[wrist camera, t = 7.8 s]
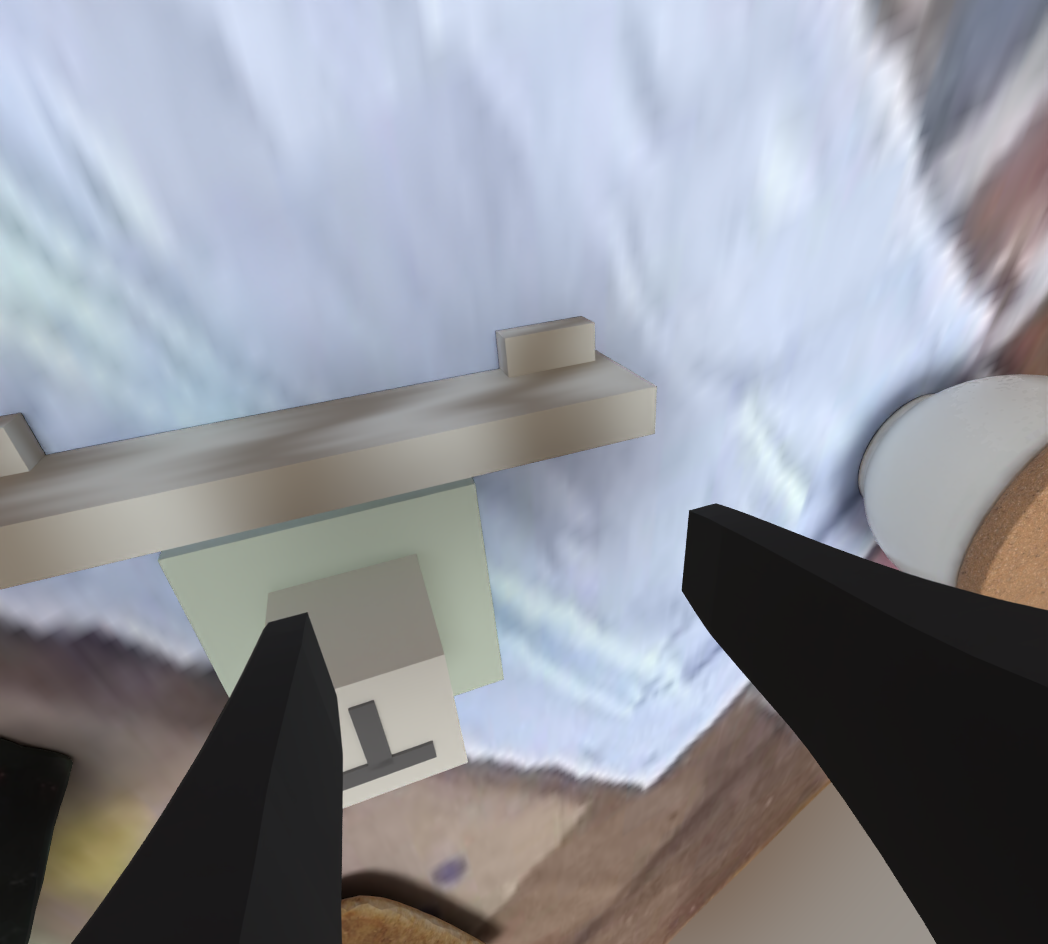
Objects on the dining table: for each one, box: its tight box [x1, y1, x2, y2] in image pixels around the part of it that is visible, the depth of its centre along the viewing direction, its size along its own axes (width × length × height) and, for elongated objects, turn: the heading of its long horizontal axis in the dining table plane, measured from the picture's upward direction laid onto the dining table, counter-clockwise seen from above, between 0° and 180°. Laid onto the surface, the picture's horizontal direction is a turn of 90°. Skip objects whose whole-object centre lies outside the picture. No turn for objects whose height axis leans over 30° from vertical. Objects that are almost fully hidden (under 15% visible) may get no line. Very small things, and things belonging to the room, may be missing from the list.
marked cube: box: [265, 554, 468, 808], centre depth 18 cm, size 5×5×5 cm
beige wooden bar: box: [0, 316, 657, 589], centre depth 15 cm, size 20×4×4 cm, turn 95°
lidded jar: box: [858, 374, 1048, 610], centre depth 23 cm, size 11×11×9 cm
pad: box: [158, 477, 504, 698], centre depth 21 cm, size 10×10×1 cm
